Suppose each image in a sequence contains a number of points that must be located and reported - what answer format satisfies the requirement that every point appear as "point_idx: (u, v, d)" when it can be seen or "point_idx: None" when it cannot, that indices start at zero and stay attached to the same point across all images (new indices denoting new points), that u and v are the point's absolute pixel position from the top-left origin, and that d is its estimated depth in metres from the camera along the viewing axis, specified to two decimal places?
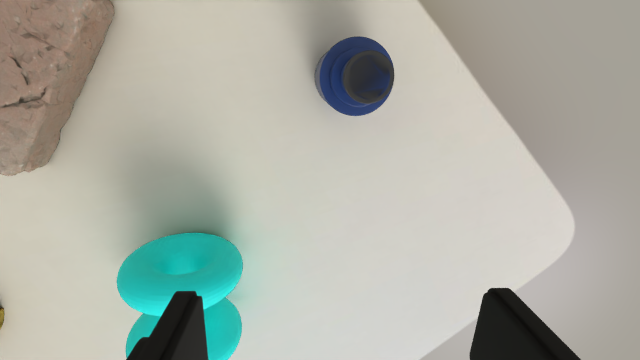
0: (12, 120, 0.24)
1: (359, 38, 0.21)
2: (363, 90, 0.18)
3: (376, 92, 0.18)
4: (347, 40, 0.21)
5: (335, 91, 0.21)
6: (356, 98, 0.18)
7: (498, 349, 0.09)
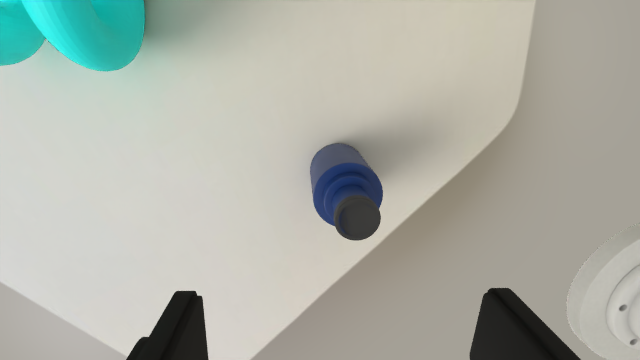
0: None
1: (381, 195, 0.23)
2: (346, 216, 0.19)
3: (344, 227, 0.20)
4: (379, 185, 0.23)
5: (337, 181, 0.22)
6: (339, 210, 0.19)
7: (498, 349, 0.09)
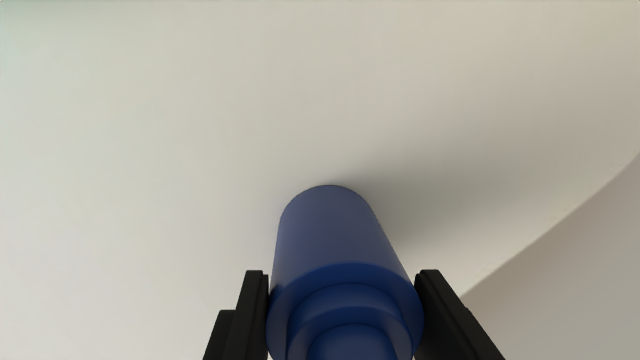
0: None
1: (421, 329, 0.10)
2: None
3: None
4: (419, 309, 0.10)
5: (320, 314, 0.09)
6: None
7: None
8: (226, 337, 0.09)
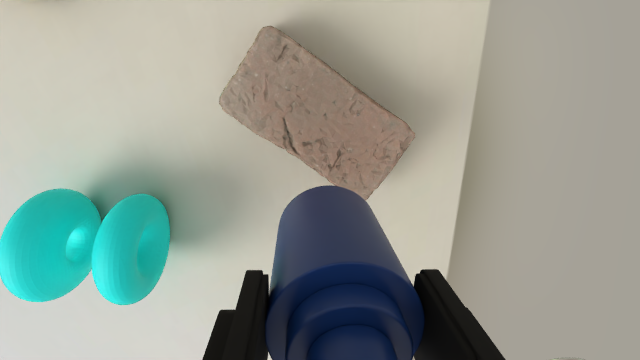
0: (272, 122, 0.27)
1: (421, 330, 0.10)
2: None
3: None
4: (419, 310, 0.10)
5: (320, 315, 0.09)
6: None
7: None
8: (226, 337, 0.09)
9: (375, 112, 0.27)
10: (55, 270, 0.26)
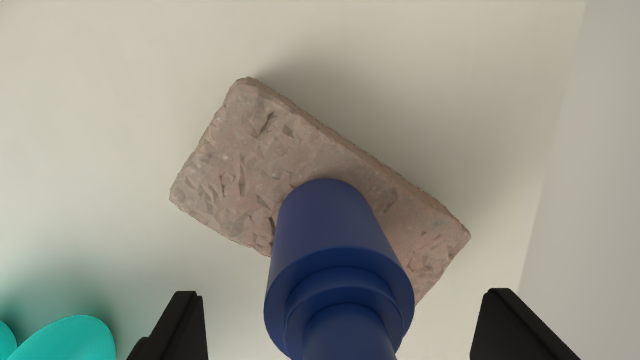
0: (253, 225, 0.18)
1: (411, 311, 0.11)
2: None
3: None
4: (410, 292, 0.11)
5: (316, 294, 0.09)
6: None
7: (498, 349, 0.09)
8: None
9: (412, 207, 0.18)
10: None
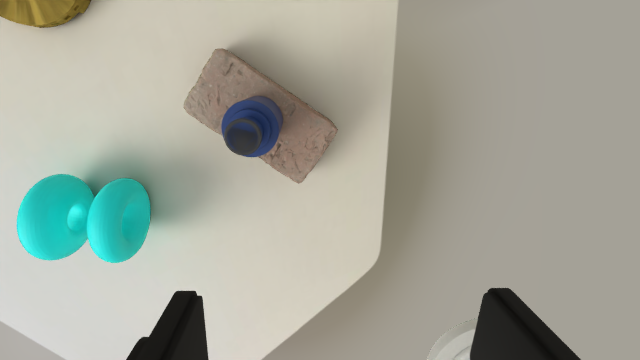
0: None
1: (277, 130, 0.29)
2: (233, 133, 0.25)
3: (232, 143, 0.25)
4: (275, 121, 0.28)
5: (237, 113, 0.27)
6: (227, 128, 0.24)
7: (498, 349, 0.09)
8: None
9: (304, 113, 0.36)
10: (59, 234, 0.34)
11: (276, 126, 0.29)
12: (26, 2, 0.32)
